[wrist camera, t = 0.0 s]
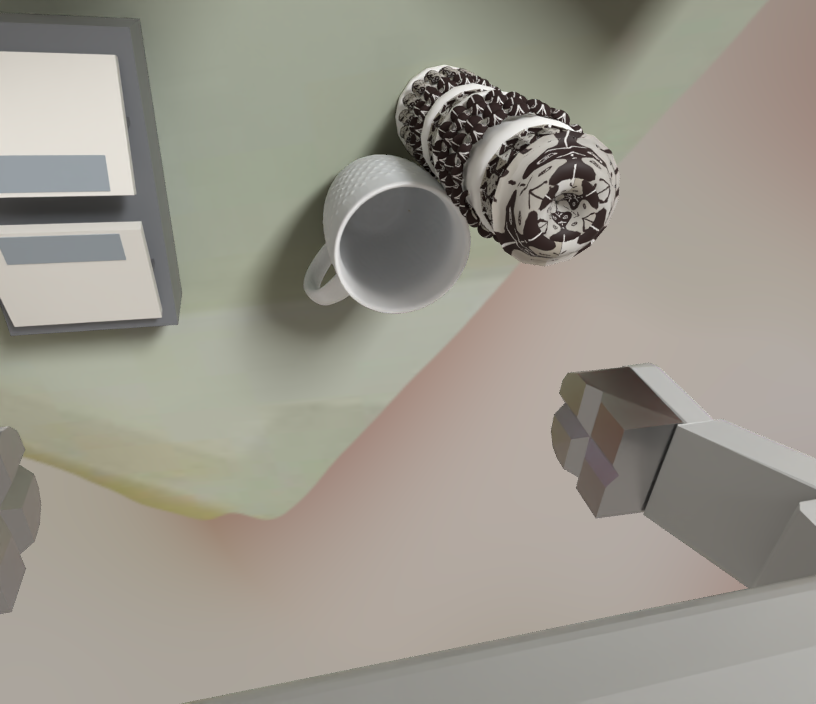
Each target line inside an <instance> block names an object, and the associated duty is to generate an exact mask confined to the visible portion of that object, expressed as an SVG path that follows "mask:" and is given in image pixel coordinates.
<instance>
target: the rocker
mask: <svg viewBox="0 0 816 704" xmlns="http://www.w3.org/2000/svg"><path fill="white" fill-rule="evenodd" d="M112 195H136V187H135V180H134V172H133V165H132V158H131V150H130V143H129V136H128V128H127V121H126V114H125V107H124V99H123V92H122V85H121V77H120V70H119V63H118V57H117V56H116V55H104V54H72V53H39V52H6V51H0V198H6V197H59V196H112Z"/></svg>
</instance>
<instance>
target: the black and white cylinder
mask: <svg viewBox="0 0 816 704" xmlns="http://www.w3.org/2000/svg"><path fill="white" fill-rule="evenodd" d="M395 119H396V125H397V132H398V136H399V138H400V139H401V141H402V143H403V144H404V146H405V148H406V150H407V151H408V152H410V154H411V155H412V156H413V157H415V159H416V161H418V162H419V163H420V165H421V166H422V167H424V168H425V169H426V171H427V172H429V173H430V174H431V175H432V176H433V177H434V178H436V179H439V180H440V182H441V184H442V186H443V187H444V189H445V191H446V194H447V196H448V197H450V198H451V201H452V203H453V204H454V205H455V206H457V207H459V210H460V212H461V214H462V215H463V216H464V217H466V220H467V223H468V224H469V225H470V226H471V227H478V233H479V234H480V235H481V236H482V237H484V238H491V237H492V236H493V238H494V239H495V241H497V242H500V244H501V246H502V247H503V249H504V251H505V252H507V253H508V254H510V255H511V256H513V257H514V258H516V259H517V260H519V261H520V262H522V263H525V264H533V265H540V266H548V265H552V264H555V263H559V262H563V261H567V260H570V259H571V258H573V257H574V256H576V255H577V254H579V253H580V252H582V251H583V250H585V249H586V248H588V247H589V246H590V245H592V243H593V242H594V241H595V240H596V239H597V237H598V236H599V235H600V234H601V233H602V231H603V230H604V229H605V228H606V226H607V225H608V223H609V221H610V218H611V216H612V214H613V211H614V209H615V206H616V204H617V202H618V195H619V177H620V174H619V171H618V168H617V165H616V162H615V160H614V157H613V154H612V152H611V150H609V149H608V148H607V147H606V146H605V145H604V144H603V143H602V142H600V141H599V140H598V139H597V138H596V137H595V136H593V135H589V134H584V133H583V131H582V128H581V127H580V126H579V125H577V124H573V125H570V118H569V116H568V114H567V113H566V112H564V111H563V110H556V109H555V108H550V107H549V106H548V105H547V104H545V103H542V102H541V101H540V100H537V99H531V100H527V99H526V98H525V97H524V96H522V95H520V94H519V93H517V92H509V93H508V92H504V91H501V90H500V89H499V88H498V87H495V86H492V85H491V84H489V82H488V81H487V80H486V79H482V78H481V77H479V76H475V74H474V73H472V72H469V71H467V70H465V69H461V68H456V67H452V66H448V65H440V66H435V67H430V68H426V69H425V70H423V71H422V72H420V73H419V74H418V75H416V76H415V77H413V78H412V79H411V80H410V81H409V83H408V84H407V86H406V87H405V89H404V90H403V92H402V93H401V95H400V96H399V101H398V105H397V110H396V114H395ZM469 205H470V207H469Z"/></svg>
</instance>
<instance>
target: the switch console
mask: <svg viewBox="0 0 816 704" xmlns="http://www.w3.org/2000/svg"><path fill="white" fill-rule="evenodd" d="M0 51H6V52H39V53H72V54H104V55H116V56H117V57H118V63H119V70H120V77H121V85H122V92H123V99H124V107H125V114H126V121H127V128H128V136H129V143H130V150H131V158H132V165H133V172H134V180H135V187H136V195H112V196H59V197H6V198H0V225H28V224H64V223H99V222H134V221H141V222H142V226H143V230H144V234H145V238H146V243H147V247H148V251H149V255H150V260H151V264H152V268H153V272H154V276H155V281H156V285H157V289H158V293H159V297H160V302H161V306H162V318H148V319H132V320H116V321H101V322H85V323H69V324H53V325H37V326H22V327H14V325H13V323H12V321H11V319H10V317H9V315H8V313H7V311H6V308H5V306H4V304H3V302H2V300H1V298H0V305H1V308H2V311H3V314H4V317H5V320H6V323H7V326H8V329H9V332H10V335H11V336H14V335H29V334H45V333H60V332H75V331H90V330H105V329H120V328H135V327H150V326H166V325H178V321H179V313H180V305H181V297H182V290H181V283H180V277H179V270H178V264H177V257H176V251H175V244H174V238H173V231H172V225H171V218H170V212H169V205H168V199H167V192H166V186H165V180H164V173H163V167H162V160H161V154H160V147H159V141H158V134H157V128H156V121H155V115H154V108H153V102H152V95H151V89H150V82H149V76H148V70H147V63H146V57H145V50H144V44H143V37H142V31H141V24H140V19H133V18H110V17H87V16H65V15H42V14H19V13H0Z"/></svg>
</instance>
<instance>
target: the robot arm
mask: <svg viewBox="0 0 816 704" xmlns="http://www.w3.org/2000/svg"><path fill="white" fill-rule="evenodd" d="M559 394H560V395H561V397H562V399H563V400H564V402H565V404H564V405H563V406H562V407H561V408H560V409H559V410H558V411H557V412H556V413H555V414H554V418H553V423H552V428H551V435H552V445H553V449H554V451H555V454H556V457H557V459H558V461H559V462H560V464H561V465H562V467H563V468H564V469H565V470H567V471H568V472H570V473H572V474H574V475H575V476H577V477H578V482H577V486H576V489H577V490H578V492H579V493H580V495H581V496H582V498H583V499H584V501H585V502H586V504H587V505H588V507H589V509H590V510H591V512H592V513H593V515H594V516H595V518H602V517H610V516H617V515H625V514H632V513H640V512H644V515H645V516H646V517H647V518H649V519H650V520H652V521H653V522H655V523H656V524H657V525H659V526H660V527H662V528H663V529H665V530H666V531H668V532H669V533H670V534H672V535H673V536H675V537H676V538H678V539H679V540H681V541H682V542H683V543H685V544H686V545H688V546H689V547H691V548H692V549H693V550H695V551H696V552H698V553H699V554H700V555H702V556H703V557H705V558H706V559H708V560H709V561H710V562H712V563H713V564H715V565H716V566H718V567H719V568H720V569H722V570H723V571H725V572H726V573H728V574H729V575H730V576H732V577H733V578H735V579H736V580H738V581H739V582H740V583H742V584H743V585H745V586H746V587H748V589H743V590H738V591H733V592H728V593H723V594H718V595H713V596H708V597H703V598H699V599H693V600H688V601H683V602H679V603H674V604H669V605H664V606H659V607H654V608H649V609H645V610H639V611H634V612H630V613H625V614H620V615H615V616H610V617H605V618H601V619H596V620H590V621H586V622H581V623H576V624H571V625H566V626H561V627H556V628H552V629H546V630H542V631H537V632H532V633H527V634H522V635H517V636H512V637H507V638H503V639H498V640H493V641H488V642H483V643H478V644H473V645H468V646H463V647H459V648H453V649H449V650H444V651H439V652H434V653H429V654H424V655H419V656H414V657H409V658H404V659H400V660H394V661H389V662H384V663H379V664H375V665H370V666H365V667H360V668H355V669H350V670H345V671H340V672H335V673H330V674H326V675H320V676H315V677H310V678H306V679H300V680H295V681H291V682H286V683H281V684H276V685H271V686H266V687H261V688H256V689H251V690H246V691H241V692H236V693H231V694H226V695H222V696H216V697H212V698H207V699H202V700H197V701H192V702H187V703H182V704H816V458H813V457H811V456H809V455H806V454H804V453H802V452H799V451H797V450H795V449H792V448H790V447H788V446H785V445H783V444H780V443H778V442H775V441H773V440H771V439H769V438H766V437H764V436H762V435H759V434H757V433H754V432H752V431H749V430H747V429H745V428H743V427H740V426H738V425H735V424H733V423H731V422H728V421H726V420H724V419H719V420H714V419H713V418H712V417H711V416H710V415H709V414H708V413H707V412H706V411H705V410H704V409H703V408H702V407H700V406H699V405H698V404H697V403H696V402H695V401H694V400H693V399H692V398H691V397H690V396H689V395H688V394H687V393H686V392H685V391H684V390H683V389H682V388H681V387H680V386H679V385H678V384H677V383H676V382H674V381H673V380H672V379H671V378H670V377H669V376H668V375H667V374H666V373H665V372H664V371H663V370H662V369H661V368H660V367H659V366H657V365H654V364H652V363H644V364H636V365H628V366H623V367H620V368H611V369H601V370H592V371H581V372H571V373H568V374H567V375H566V376H565V378H564V379H563V381H562V385H561V389H560V392H559ZM24 451H25V448H24V446H23V444H22V441H21V439H20V436H19V434H18V432H17V431H16V430H15V429H13V428H11V427H0V614H3V613H9V612H12V609H13V606H14V603H15V600H16V597H17V594H18V591H19V588H20V585H21V582H22V579H23V576H24V573H25V569H26V568H25V565H24V563H23V561H22V558H21V556H20V554H21V553H22V552H23V551H24V550H25V549H27V548H28V547H29V546H30V545H31V544H32V543H33V542H34V541H35V538H36V535H37V531H38V528H39V525H40V512H41V500H40V494H39V488H38V485H37V481H36V479H35V476H34V474H33V473H32V472H30V471H28V470H27V469H25V468H24V467H22V466H20V465H19V464H20V461H21V459H22V456H23V453H24Z"/></svg>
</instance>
